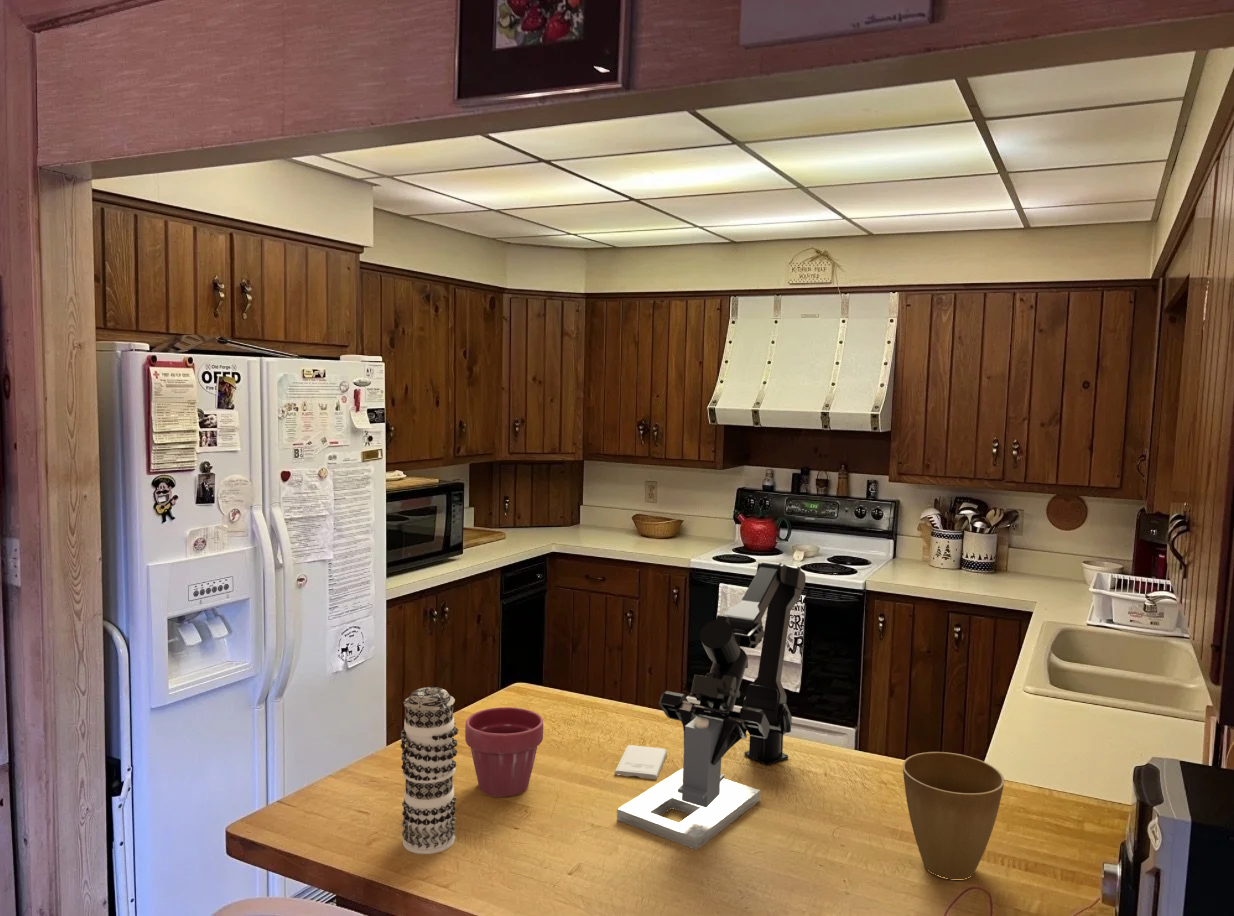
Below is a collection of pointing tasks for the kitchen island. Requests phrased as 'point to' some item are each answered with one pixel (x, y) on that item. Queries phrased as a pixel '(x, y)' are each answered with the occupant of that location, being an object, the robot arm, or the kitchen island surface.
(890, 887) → the kitchen island surface
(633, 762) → the external hard drive
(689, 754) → the block
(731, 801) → the plate
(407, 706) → the decorative candle
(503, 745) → the plant pot
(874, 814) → the kitchen island surface
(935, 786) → the plant pot
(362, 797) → the kitchen island surface
